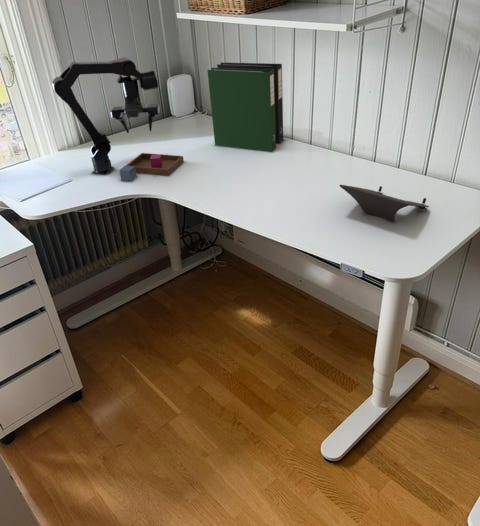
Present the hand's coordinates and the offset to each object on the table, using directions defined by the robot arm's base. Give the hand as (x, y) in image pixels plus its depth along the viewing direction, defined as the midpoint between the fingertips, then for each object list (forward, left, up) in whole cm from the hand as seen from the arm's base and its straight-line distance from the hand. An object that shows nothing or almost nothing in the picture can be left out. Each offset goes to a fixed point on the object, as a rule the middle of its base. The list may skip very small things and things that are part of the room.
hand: (139, 131), depth 198 cm
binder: (+37, +28, -13) cm, 48 cm away
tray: (+7, -4, -13) cm, 15 cm away
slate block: (+2, -17, -13) cm, 21 cm away
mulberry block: (+8, -4, -12) cm, 15 cm away
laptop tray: (+101, -22, -13) cm, 104 cm away
